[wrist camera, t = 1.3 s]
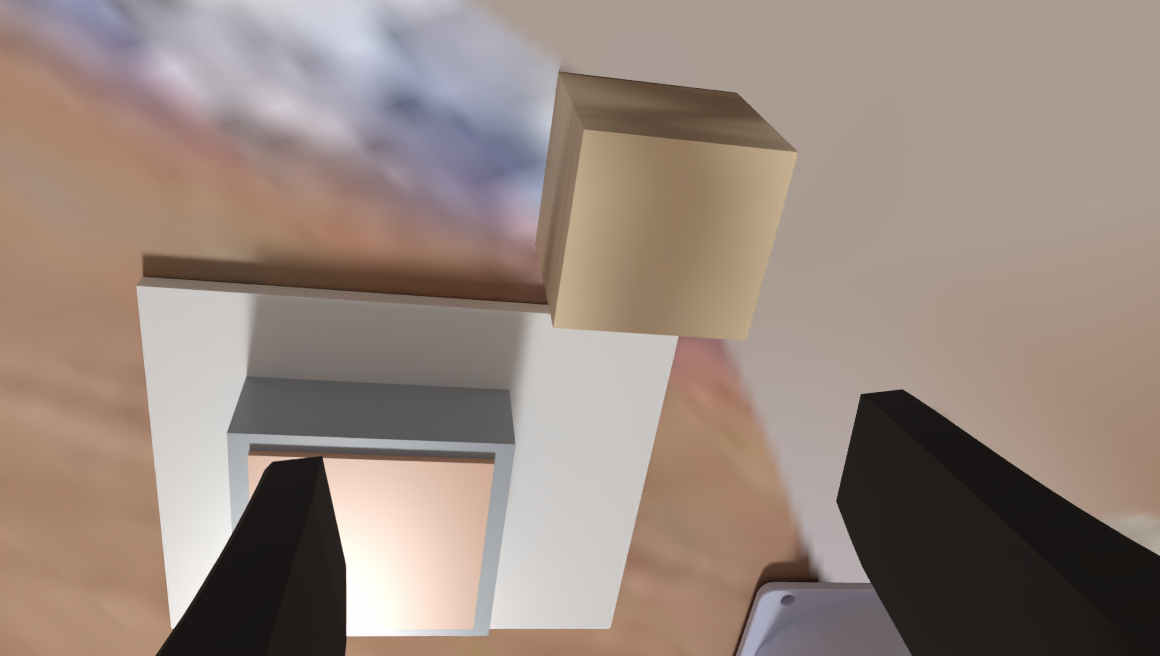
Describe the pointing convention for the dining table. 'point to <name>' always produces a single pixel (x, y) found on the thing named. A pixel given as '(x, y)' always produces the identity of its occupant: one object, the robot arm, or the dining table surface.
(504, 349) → the base
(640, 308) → the maple block
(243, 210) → the dining table surface
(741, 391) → the dining table surface
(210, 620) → the robot arm
